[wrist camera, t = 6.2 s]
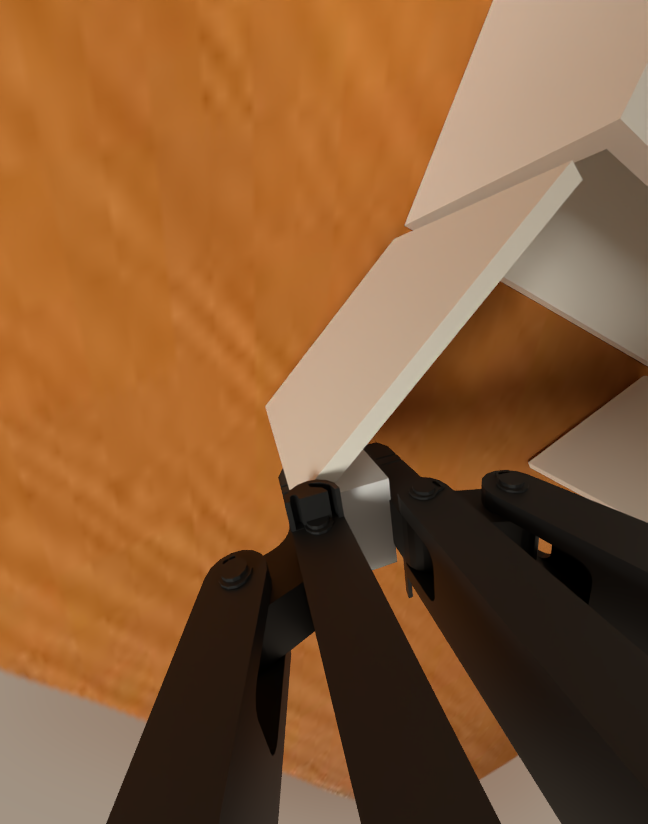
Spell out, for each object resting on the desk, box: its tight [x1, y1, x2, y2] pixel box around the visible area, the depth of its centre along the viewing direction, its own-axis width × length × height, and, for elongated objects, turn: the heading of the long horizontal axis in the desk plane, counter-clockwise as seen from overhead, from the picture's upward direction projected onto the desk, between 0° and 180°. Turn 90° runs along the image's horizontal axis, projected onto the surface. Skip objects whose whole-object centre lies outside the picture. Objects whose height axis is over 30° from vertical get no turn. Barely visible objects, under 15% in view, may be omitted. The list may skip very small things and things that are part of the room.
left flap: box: [265, 160, 583, 490], centre depth 11 cm, size 10×1×8 cm, turn 141°
